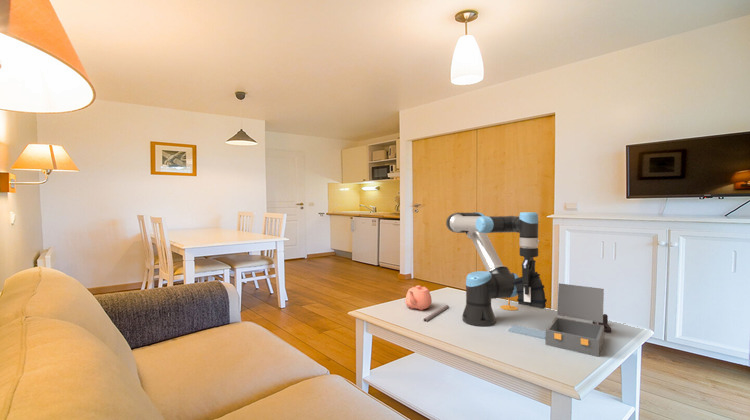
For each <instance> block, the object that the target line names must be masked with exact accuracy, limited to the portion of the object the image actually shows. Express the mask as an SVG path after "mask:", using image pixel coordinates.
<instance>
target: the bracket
mask: <svg viewBox="0 0 750 420" xmlns="http://www.w3.org/2000/svg"><path fill="white" fill-rule="evenodd" d="M608 317H609V316H608V314H607V313H603V323H600V322H598V325H603V326H604V333H607V334H610V333H611V334H612V328H611V326H610V325H609V324H608V323H609V321H608V319H609V318H608ZM591 322H592V323H591V324H595V322H594V321H591Z"/></svg>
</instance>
